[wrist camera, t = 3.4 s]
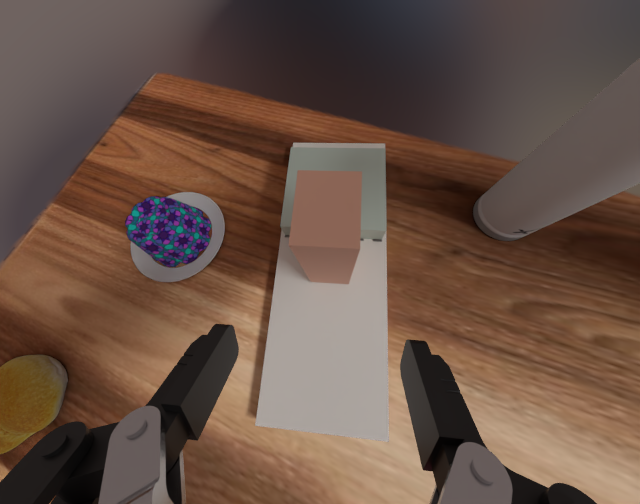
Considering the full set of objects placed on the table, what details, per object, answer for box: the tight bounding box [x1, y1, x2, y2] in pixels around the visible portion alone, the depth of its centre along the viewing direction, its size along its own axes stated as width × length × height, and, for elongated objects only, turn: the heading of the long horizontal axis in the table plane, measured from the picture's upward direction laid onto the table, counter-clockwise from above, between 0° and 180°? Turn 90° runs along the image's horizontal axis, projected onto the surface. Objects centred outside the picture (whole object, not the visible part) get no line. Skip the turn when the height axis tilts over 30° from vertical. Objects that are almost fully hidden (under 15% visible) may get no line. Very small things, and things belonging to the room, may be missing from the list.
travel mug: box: [473, 58, 640, 241], centre depth 17 cm, size 6×7×20 cm
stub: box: [289, 170, 362, 284], centre depth 19 cm, size 5×4×12 cm
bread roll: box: [0, 355, 68, 454], centre depth 22 cm, size 8×9×4 cm
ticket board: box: [255, 143, 389, 442], centre depth 24 cm, size 32×12×4 cm, turn 176°
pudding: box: [125, 192, 225, 282], centre depth 26 cm, size 12×12×5 cm
